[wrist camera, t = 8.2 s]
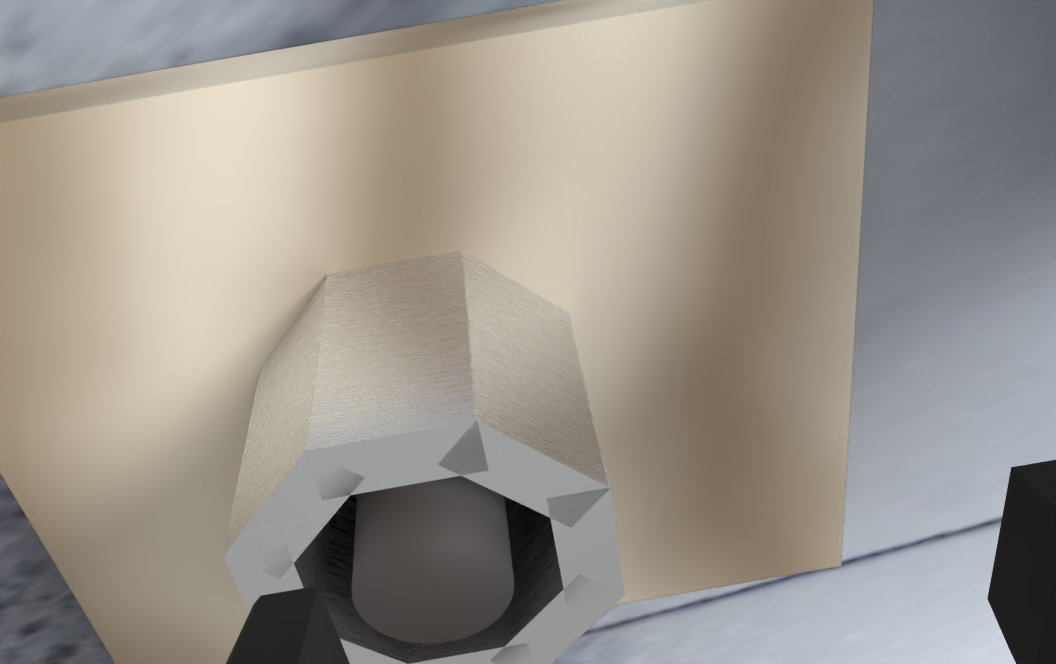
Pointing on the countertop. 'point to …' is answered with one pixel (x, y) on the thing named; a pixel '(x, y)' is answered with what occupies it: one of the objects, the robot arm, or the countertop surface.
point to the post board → (428, 229)
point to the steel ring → (428, 449)
